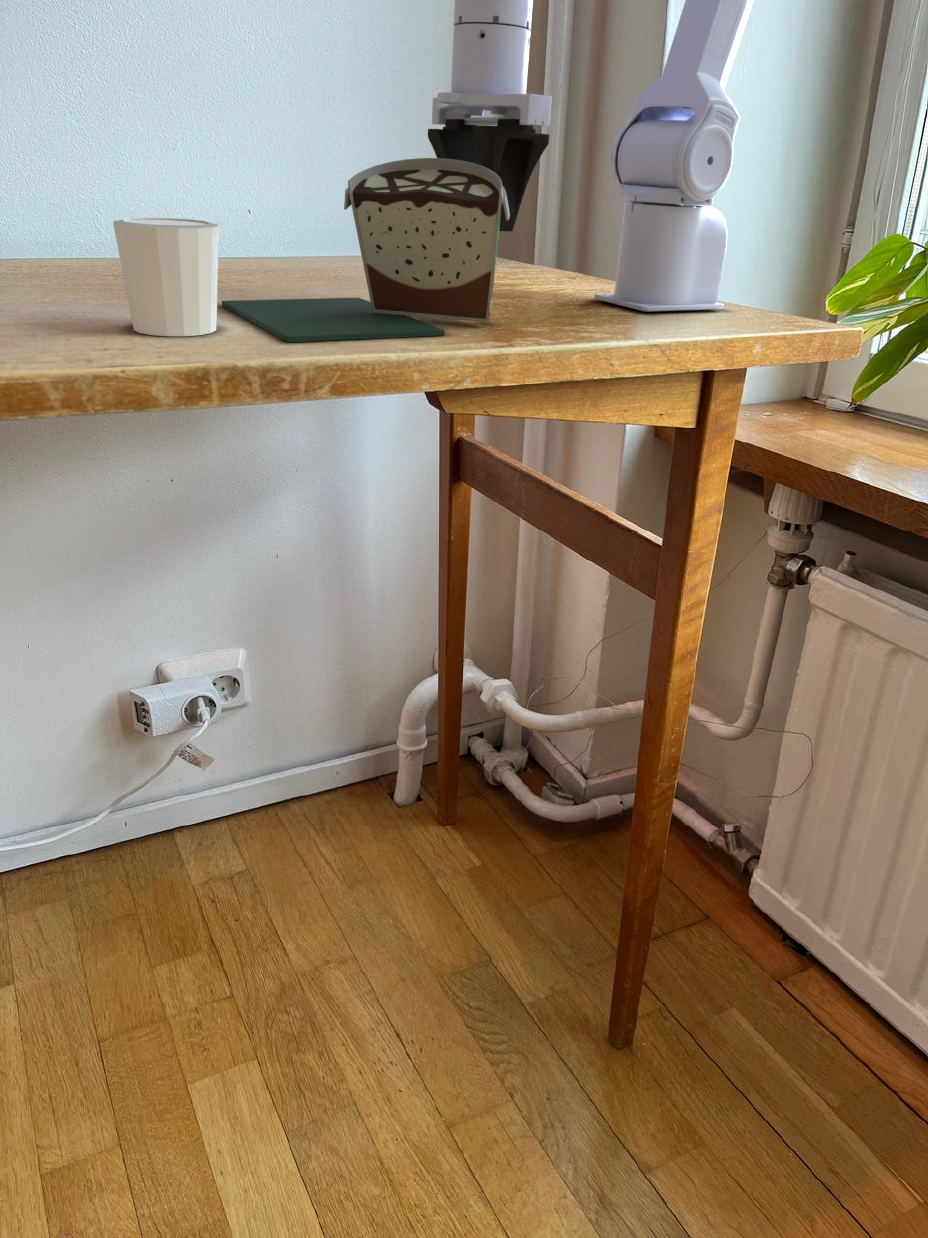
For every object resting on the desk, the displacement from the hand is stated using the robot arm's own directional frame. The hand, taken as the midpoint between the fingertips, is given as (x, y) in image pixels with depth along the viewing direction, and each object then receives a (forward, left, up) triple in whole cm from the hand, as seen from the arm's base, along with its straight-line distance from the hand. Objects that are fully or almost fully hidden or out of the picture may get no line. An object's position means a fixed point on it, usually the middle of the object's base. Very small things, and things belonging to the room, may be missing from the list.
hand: (480, 227), depth 76 cm
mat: (+13, 0, -7) cm, 15 cm away
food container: (+4, 0, -6) cm, 7 cm away
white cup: (+25, +1, -7) cm, 26 cm away
